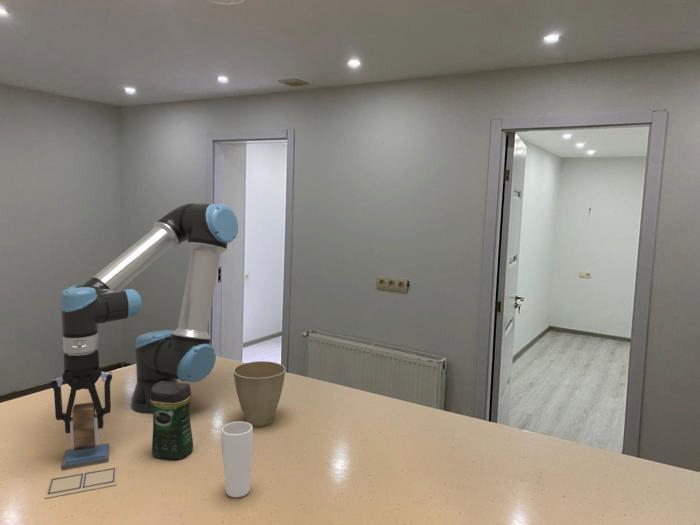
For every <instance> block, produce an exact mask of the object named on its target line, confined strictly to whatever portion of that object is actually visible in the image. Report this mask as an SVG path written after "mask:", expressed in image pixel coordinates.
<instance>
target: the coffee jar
mask: <svg viewBox="0 0 700 525" xmlns="http://www.w3.org/2000/svg"><path fill="white" fill-rule="evenodd" d="M191 400H192V391H191V385H190V384H189V383H186V382H184V383H183V382H178V383H175V382H165V381H160V382H158V383H156V384H155V385H153V386H152V388H151V394H150V403H151V405H152V409H153V413H152V422H153V424H152V440H151V441H152V443H151V445H152V446H151V453H152V455H153V456H154V457H156V458H160V459H165V460H178V459H182V458H184V457H187V456H188V455H190V453H192V451H193V449H194V440H193V433H192V426H191V425H192V423H191V417H190V416H191V415H190V403H191Z"/></svg>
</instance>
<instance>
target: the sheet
mask: <svg viewBox="0 0 700 525" xmlns="http://www.w3.org/2000/svg"><path fill="white" fill-rule="evenodd" d="M117 474H118V466H117V465H113V466H107V467H102V468H95V469H89V470H84V471H79V472H78V471H77V472H72V473H67V474H62V475H60V474H59V475H55V476H51V477H49V481H48V484H47V489H46V491H45V492H46V493H45V497H44V500H47V499H50V498H51V499H52V498H57V497H63V496H67V495H72V494H73V495H74V494H77V493H83V492H84V493H85V492H88V491H89V492H90V491H93V490H94V491H95V490H99V489H104V488H109V487H110V488H111V487H115V486H117V476H118V475H117Z"/></svg>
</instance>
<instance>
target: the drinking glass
mask: <svg viewBox="0 0 700 525" xmlns="http://www.w3.org/2000/svg"><path fill="white" fill-rule="evenodd" d="M253 428H254V426H252V425H251V424H250V423H247V422H246V421H232V422H229V423H226V424H225V425H223V426H222V428H221V453H222V454H221V455H222V463H223V473H224V481H225V493H226V494H227V496H229V497H230V498H242V497H244V496H247V495H248V494H249V492H250V490H251V476H252V474H251V472H252V462H253V450H254V432H253Z"/></svg>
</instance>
